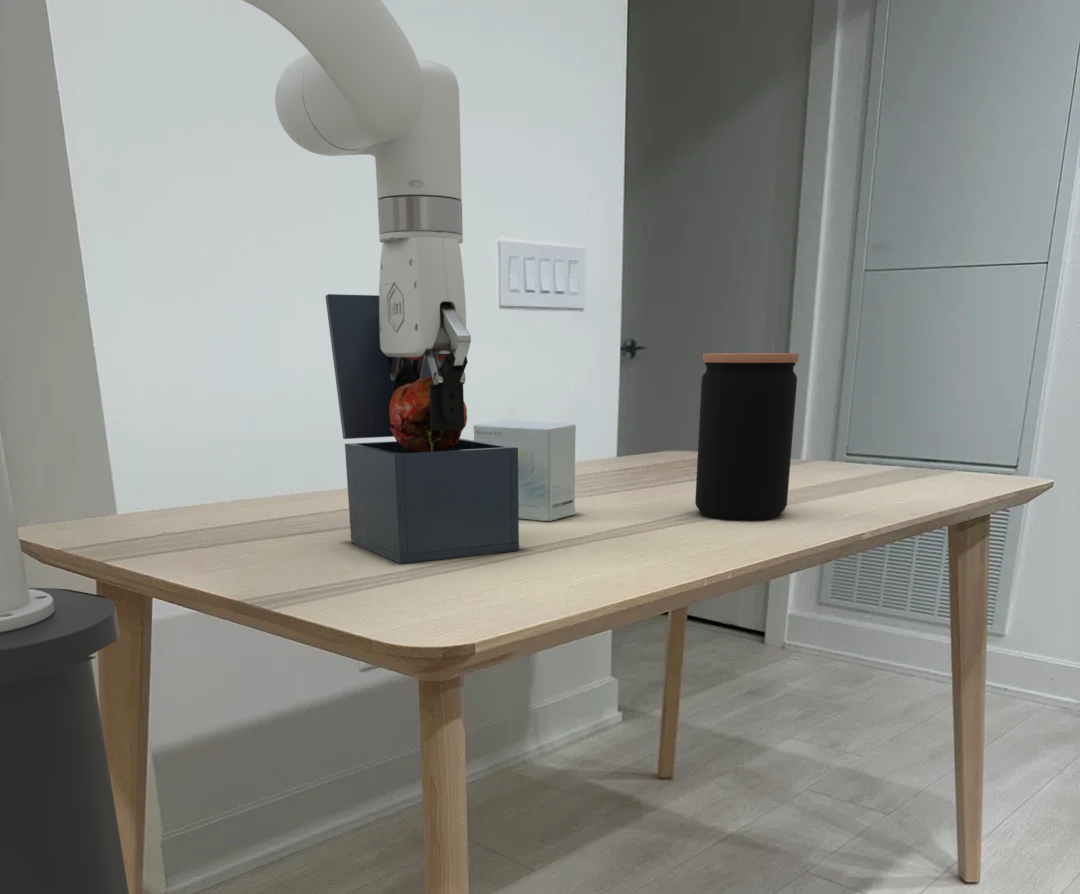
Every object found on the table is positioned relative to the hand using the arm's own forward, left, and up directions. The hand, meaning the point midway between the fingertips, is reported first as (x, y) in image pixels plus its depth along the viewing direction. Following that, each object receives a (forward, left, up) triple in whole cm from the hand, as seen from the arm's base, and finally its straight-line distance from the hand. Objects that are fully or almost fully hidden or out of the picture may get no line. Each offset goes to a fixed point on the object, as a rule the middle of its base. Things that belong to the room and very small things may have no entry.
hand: (428, 426), depth 97 cm
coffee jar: (+40, 0, -12) cm, 42 cm away
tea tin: (0, 0, -12) cm, 12 cm away
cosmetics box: (+18, +13, -12) cm, 25 cm away
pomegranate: (0, 0, -3) cm, 3 cm away
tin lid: (0, +7, +5) cm, 9 cm away
